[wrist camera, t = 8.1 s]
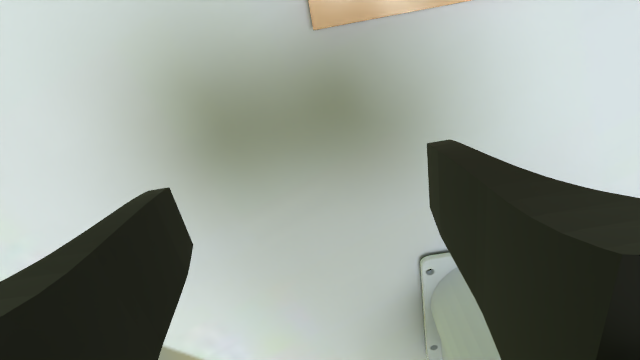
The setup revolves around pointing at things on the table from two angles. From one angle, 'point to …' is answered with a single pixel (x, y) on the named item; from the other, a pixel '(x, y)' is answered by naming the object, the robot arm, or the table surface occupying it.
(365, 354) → the table surface
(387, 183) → the table surface
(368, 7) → the coaster
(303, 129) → the table surface
